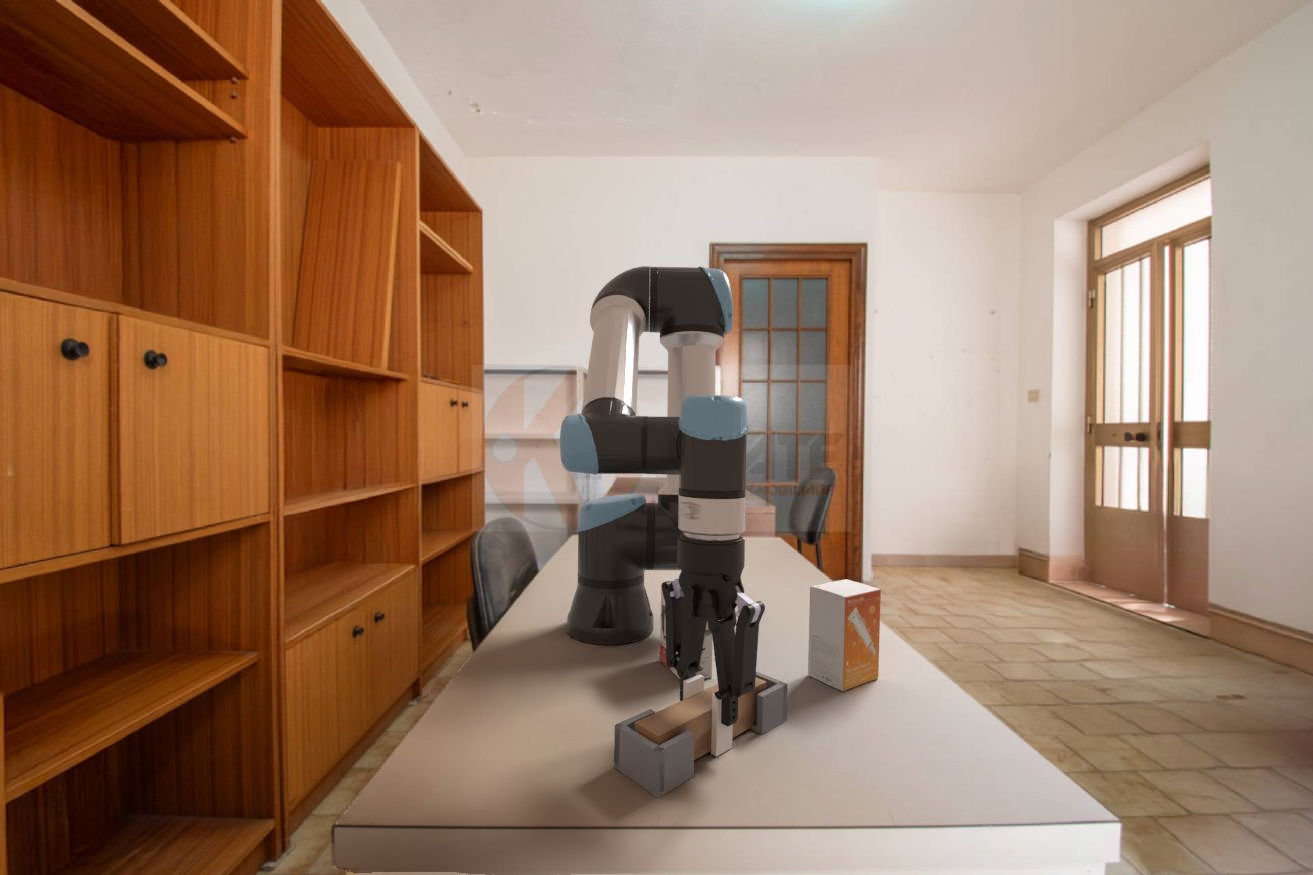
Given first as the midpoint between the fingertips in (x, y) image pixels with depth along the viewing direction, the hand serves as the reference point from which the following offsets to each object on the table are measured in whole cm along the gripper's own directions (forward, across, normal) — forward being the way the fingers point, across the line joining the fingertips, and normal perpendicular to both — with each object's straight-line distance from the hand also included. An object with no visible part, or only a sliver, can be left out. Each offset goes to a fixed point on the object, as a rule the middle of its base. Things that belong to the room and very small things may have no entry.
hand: (707, 742), depth 63 cm
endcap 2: (0, 0, +9) cm, 9 cm away
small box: (0, +2, +27) cm, 27 cm away
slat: (0, 0, 0) cm, 0 cm away
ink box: (0, -15, +12) cm, 20 cm away
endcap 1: (0, 0, -8) cm, 8 cm away
